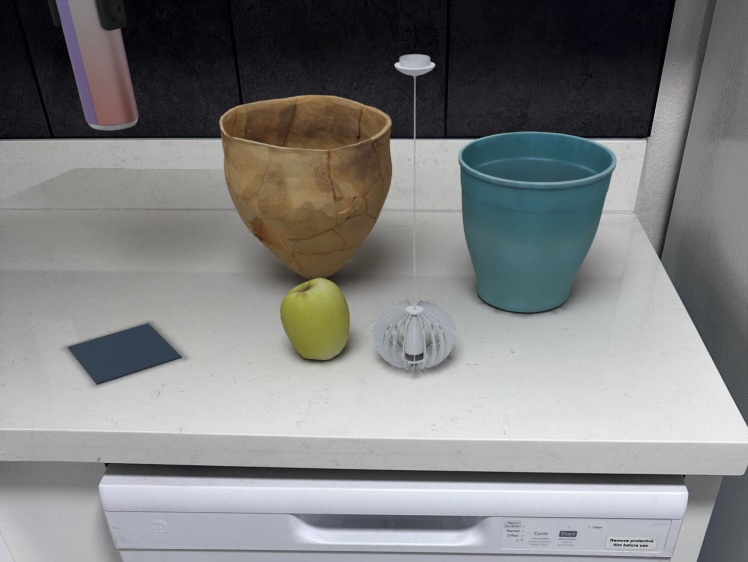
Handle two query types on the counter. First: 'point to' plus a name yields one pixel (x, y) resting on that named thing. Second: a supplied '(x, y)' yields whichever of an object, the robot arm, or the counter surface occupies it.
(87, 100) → the beverage can
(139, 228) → the counter surface
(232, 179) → the bowl
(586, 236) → the flower pot
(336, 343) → the apple
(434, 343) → the pendant light
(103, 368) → the mat
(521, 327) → the counter surface
